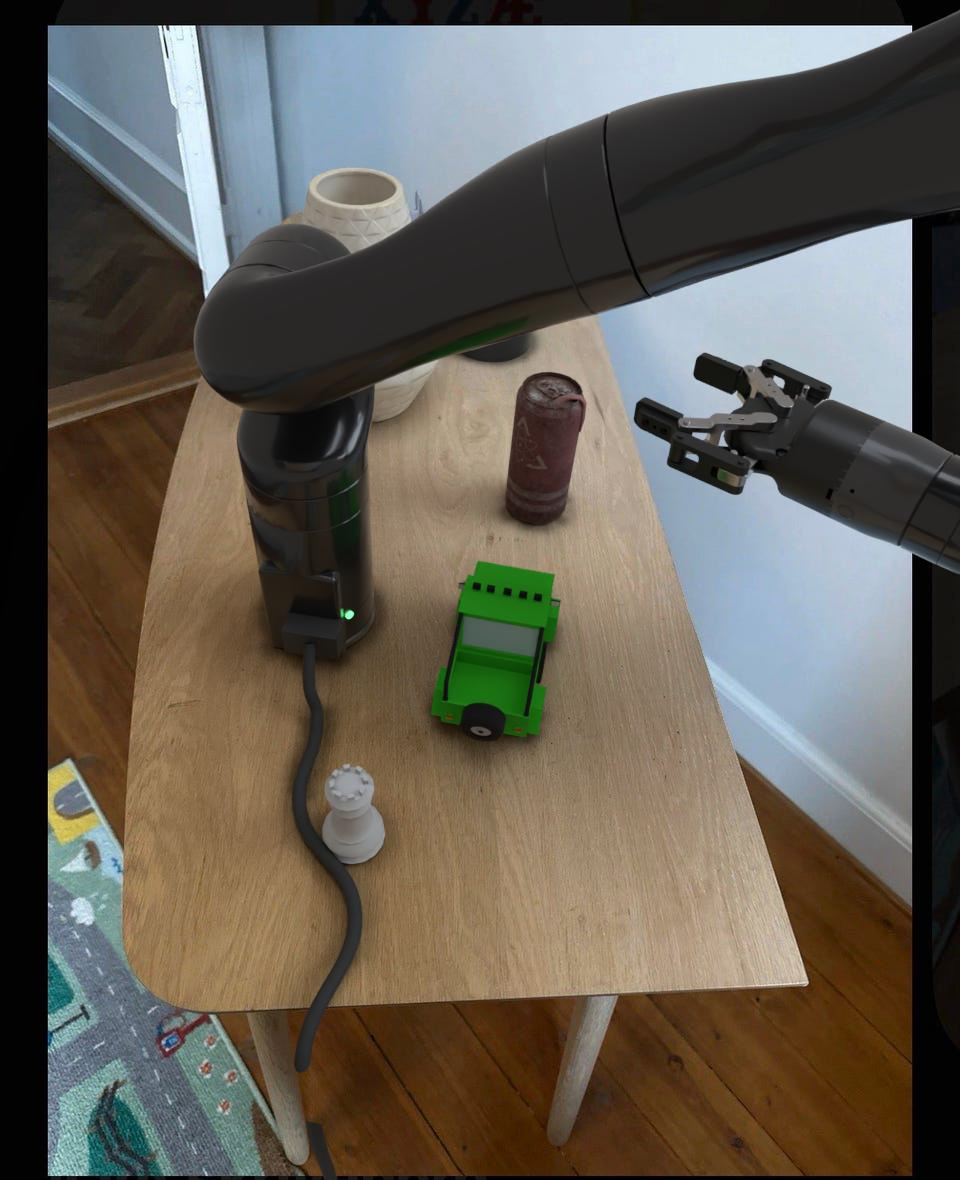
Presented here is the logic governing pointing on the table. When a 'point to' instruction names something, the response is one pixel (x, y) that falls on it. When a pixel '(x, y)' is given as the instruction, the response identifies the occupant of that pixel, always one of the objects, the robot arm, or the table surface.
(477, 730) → the toy car
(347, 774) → the rook chess piece
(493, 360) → the canister
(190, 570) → the table surface
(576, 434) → the can
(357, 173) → the vase
